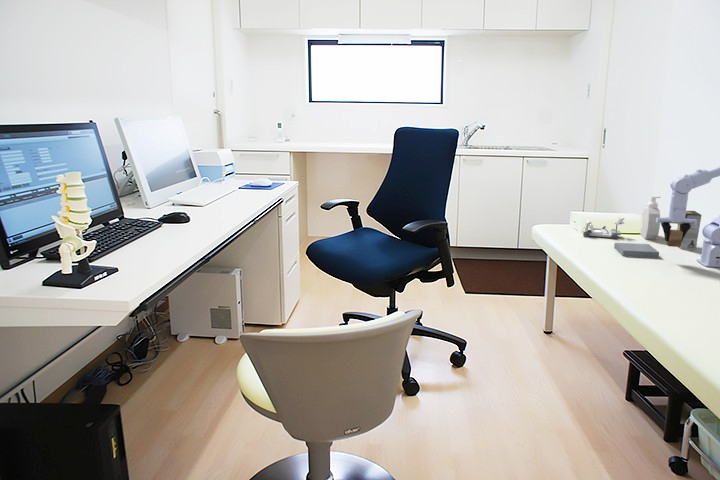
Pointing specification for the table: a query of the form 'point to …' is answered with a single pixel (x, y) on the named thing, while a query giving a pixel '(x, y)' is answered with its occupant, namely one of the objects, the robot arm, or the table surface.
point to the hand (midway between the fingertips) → (673, 241)
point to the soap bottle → (650, 220)
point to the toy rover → (599, 232)
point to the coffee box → (691, 231)
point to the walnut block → (674, 238)
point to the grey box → (636, 250)
